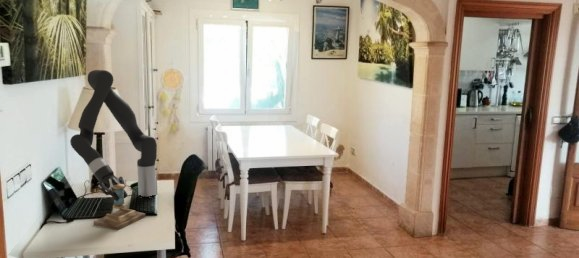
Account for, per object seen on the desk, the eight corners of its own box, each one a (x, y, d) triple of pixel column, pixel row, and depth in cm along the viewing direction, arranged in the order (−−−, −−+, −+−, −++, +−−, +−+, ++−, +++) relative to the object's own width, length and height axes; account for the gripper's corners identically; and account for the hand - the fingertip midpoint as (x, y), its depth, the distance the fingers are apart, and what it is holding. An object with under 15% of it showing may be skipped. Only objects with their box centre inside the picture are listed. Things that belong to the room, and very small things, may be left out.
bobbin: (119, 203, 212) (118, 183, 210) (128, 205, 210) (127, 185, 208) (110, 207, 207) (109, 186, 205) (119, 209, 205) (118, 188, 203)
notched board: (122, 211, 221) (122, 203, 220) (145, 216, 215) (145, 208, 215) (93, 224, 204) (93, 216, 204) (117, 230, 199) (117, 221, 198)
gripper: (93, 168, 201) (114, 198, 199) (116, 161, 214) (137, 189, 212) (84, 178, 204) (106, 207, 202) (108, 170, 217) (129, 198, 215)
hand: (122, 198), depth 207 cm, fingers closed on bobbin, 4 cm apart
